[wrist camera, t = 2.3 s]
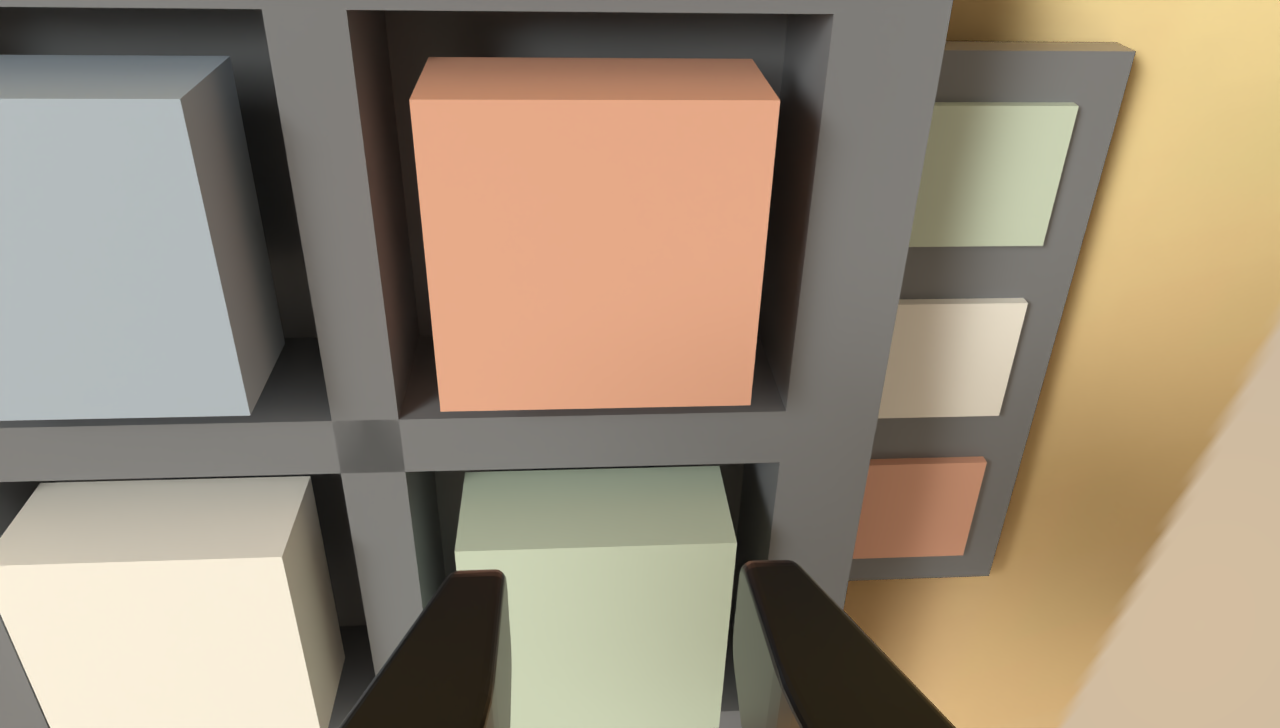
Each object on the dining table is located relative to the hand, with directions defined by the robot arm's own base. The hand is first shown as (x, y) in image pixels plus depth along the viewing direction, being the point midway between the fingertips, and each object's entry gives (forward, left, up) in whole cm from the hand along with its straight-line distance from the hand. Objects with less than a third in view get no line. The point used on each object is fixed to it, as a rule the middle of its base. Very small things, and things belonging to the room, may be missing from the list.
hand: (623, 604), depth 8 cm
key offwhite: (+7, +7, -8) cm, 13 cm away
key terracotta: (0, 0, -8) cm, 8 cm away
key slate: (+7, 0, -8) cm, 11 cm away
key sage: (0, +7, -8) cm, 11 cm away
